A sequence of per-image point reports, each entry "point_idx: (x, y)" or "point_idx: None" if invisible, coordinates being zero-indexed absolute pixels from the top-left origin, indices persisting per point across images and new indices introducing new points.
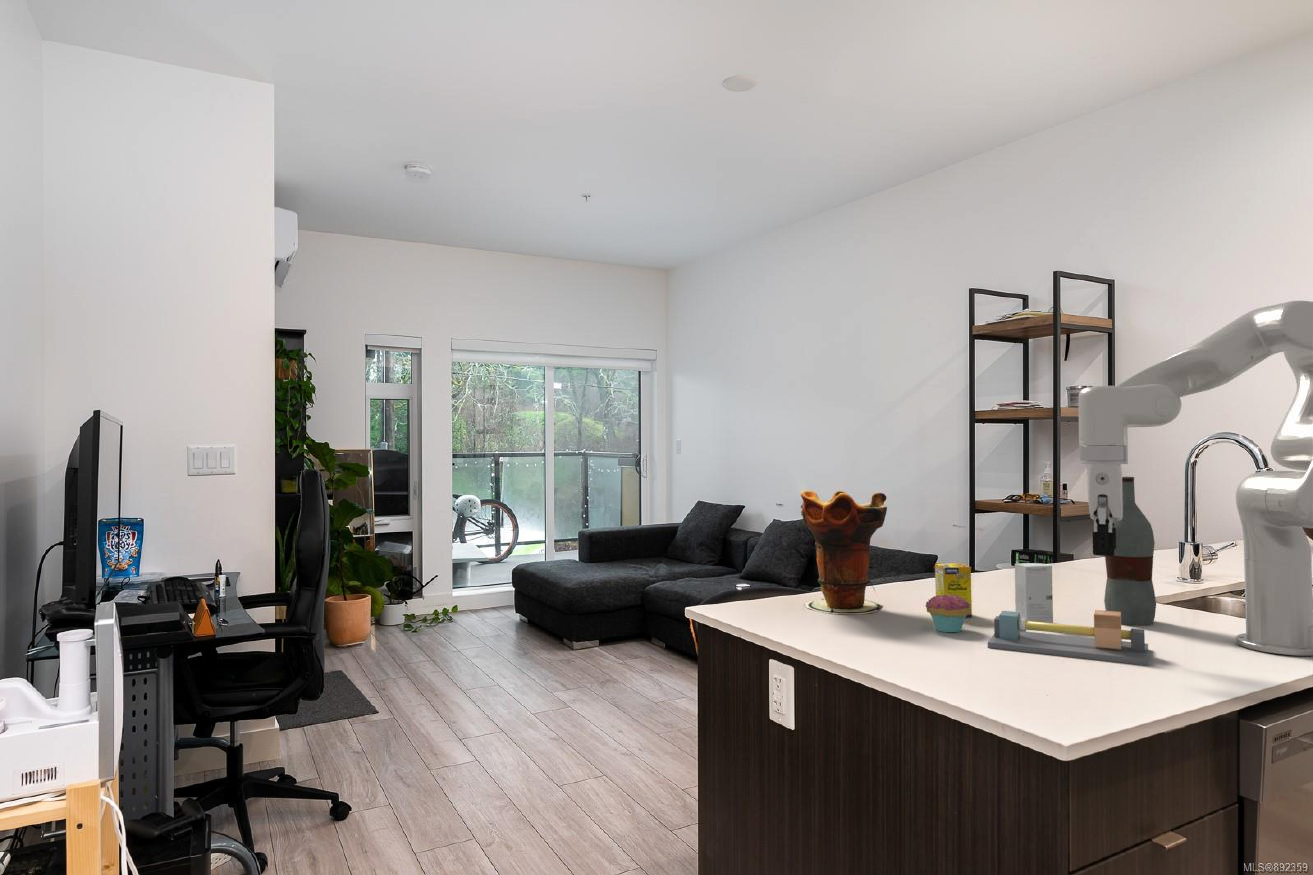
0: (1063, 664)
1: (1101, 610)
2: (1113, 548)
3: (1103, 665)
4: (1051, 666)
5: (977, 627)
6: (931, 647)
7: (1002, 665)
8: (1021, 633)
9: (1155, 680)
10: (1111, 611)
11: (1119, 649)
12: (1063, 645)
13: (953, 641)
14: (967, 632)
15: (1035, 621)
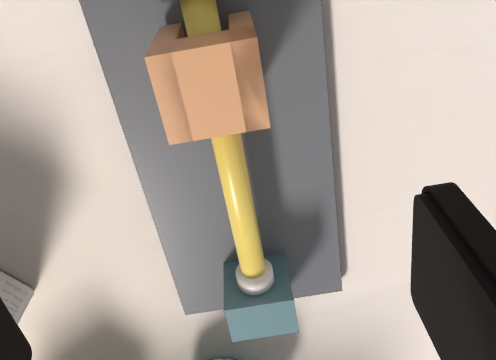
0: (416, 116)
1: (166, 124)
2: (479, 219)
3: (376, 28)
4: (451, 134)
5: (150, 349)
6: (395, 348)
7: (488, 216)
8: (198, 267)
9: None
10: (162, 89)
11: (223, 19)
12: (272, 159)
13: (319, 339)
14: (216, 347)
15: (10, 283)
